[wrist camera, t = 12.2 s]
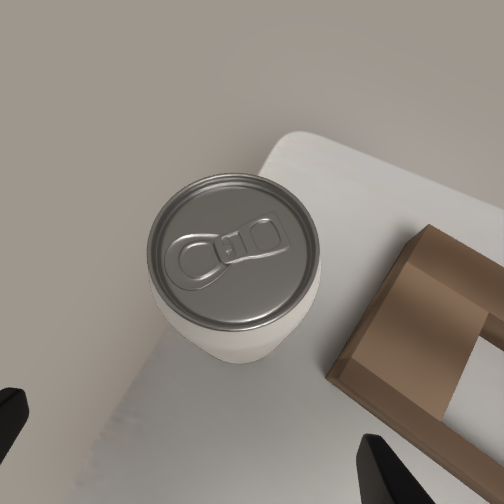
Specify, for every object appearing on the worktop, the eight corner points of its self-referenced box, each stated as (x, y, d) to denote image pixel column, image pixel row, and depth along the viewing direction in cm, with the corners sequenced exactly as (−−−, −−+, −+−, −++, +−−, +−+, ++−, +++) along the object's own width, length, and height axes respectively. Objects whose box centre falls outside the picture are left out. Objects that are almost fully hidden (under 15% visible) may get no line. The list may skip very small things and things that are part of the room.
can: (181, 288, 22) (113, 194, 11) (265, 257, 23) (284, 142, 12) (210, 380, 19) (163, 384, 8) (302, 341, 20) (370, 299, 9)
